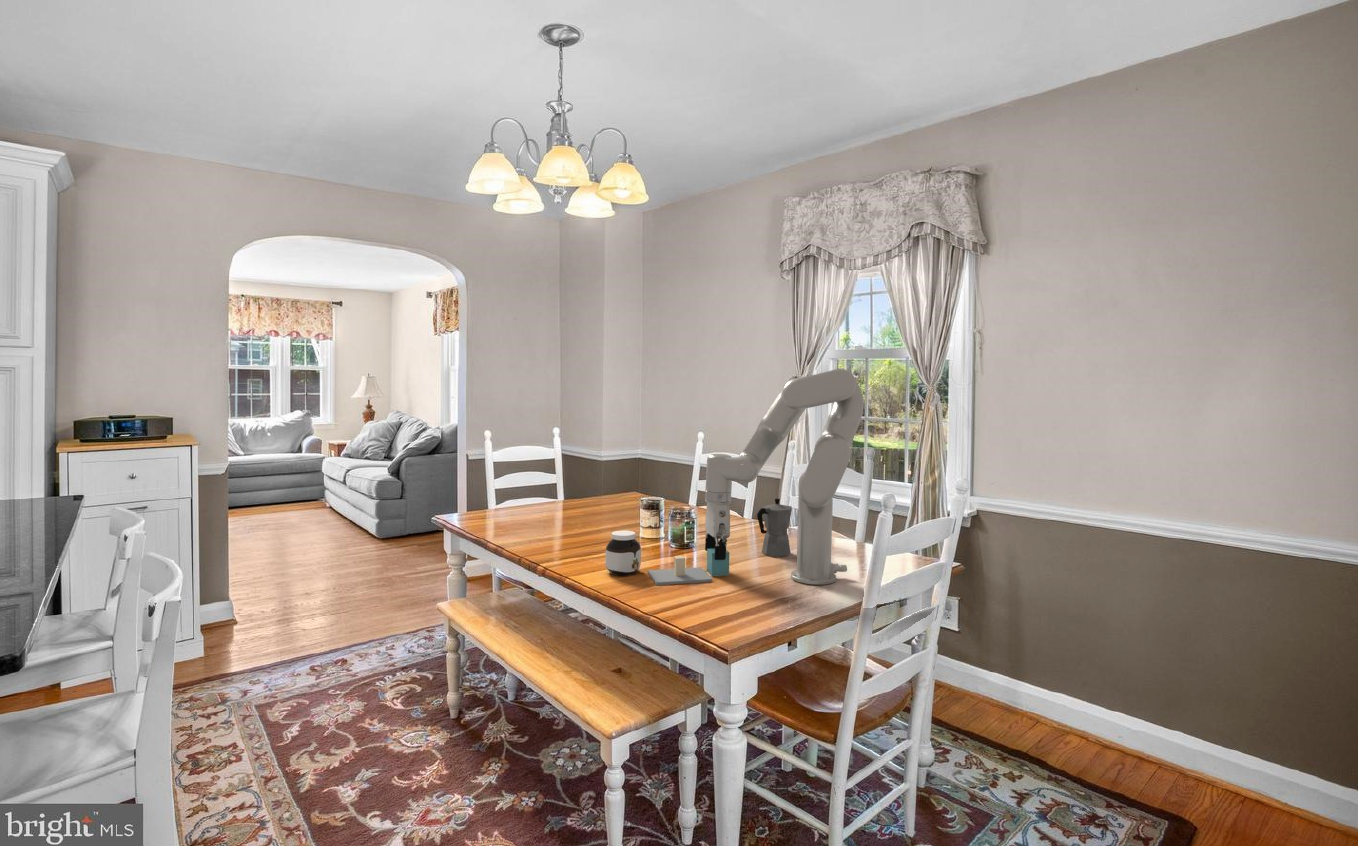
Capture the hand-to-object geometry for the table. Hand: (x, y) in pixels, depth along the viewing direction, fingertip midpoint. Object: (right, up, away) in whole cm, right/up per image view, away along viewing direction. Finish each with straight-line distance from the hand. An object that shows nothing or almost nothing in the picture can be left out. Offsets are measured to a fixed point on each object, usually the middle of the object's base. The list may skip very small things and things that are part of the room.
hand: (715, 555), depth 204 cm
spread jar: (-27, -5, +2) cm, 28 cm away
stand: (-10, -5, -5) cm, 13 cm away
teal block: (+1, -5, 0) cm, 5 cm away
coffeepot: (+20, -4, +22) cm, 30 cm away
